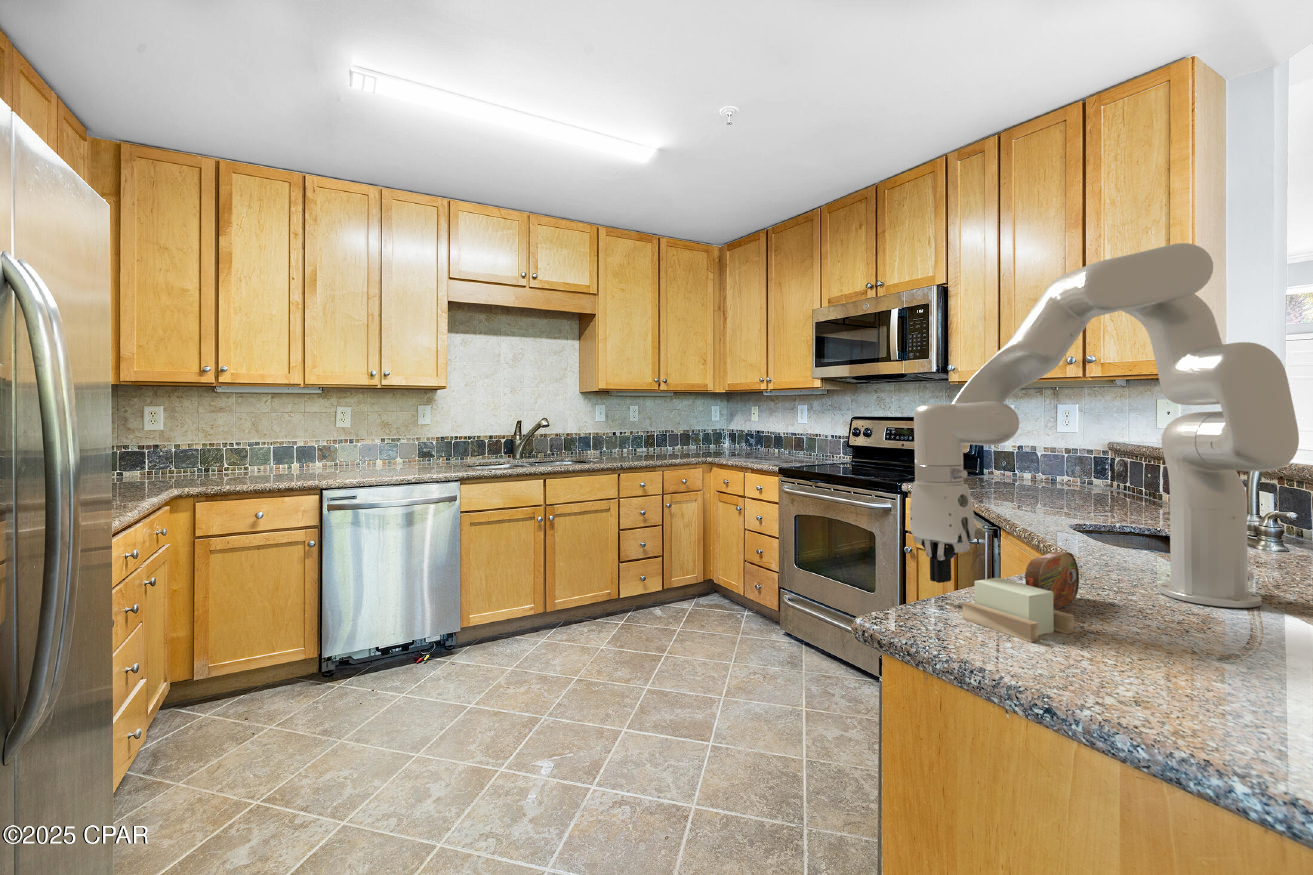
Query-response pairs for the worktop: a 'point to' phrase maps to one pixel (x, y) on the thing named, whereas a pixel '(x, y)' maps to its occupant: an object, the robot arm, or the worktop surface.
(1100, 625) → the worktop surface
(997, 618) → the chute
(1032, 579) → the tin
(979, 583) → the block
